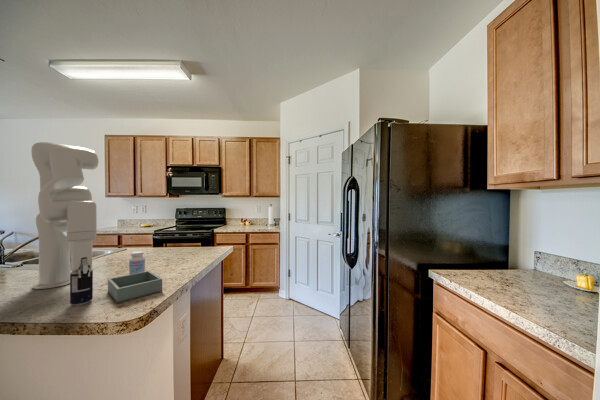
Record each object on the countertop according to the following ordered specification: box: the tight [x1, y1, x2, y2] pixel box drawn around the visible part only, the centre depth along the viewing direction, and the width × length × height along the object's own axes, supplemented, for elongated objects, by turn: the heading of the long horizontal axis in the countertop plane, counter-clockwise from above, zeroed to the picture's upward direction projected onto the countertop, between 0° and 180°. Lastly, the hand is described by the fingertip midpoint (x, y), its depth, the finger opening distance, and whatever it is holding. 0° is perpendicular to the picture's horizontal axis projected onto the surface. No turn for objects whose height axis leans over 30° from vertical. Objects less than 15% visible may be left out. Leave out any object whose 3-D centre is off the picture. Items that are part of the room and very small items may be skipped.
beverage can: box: [69, 268, 94, 307], centre depth 80 cm, size 6×6×12 cm
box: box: [107, 270, 163, 304], centre depth 90 cm, size 16×14×5 cm
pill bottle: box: [128, 250, 146, 275], centre depth 109 cm, size 6×6×11 cm
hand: (82, 285), depth 79 cm, fingers open, 9 cm apart
